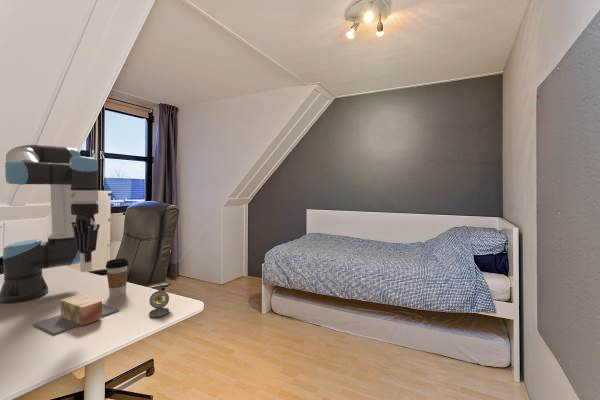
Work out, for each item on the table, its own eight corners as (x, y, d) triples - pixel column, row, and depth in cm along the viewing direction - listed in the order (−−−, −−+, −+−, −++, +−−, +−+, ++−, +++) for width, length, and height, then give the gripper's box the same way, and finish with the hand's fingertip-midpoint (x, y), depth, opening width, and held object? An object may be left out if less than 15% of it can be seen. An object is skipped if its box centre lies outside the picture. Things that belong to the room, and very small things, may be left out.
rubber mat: (33, 325, 95) (33, 323, 95) (98, 303, 113) (98, 302, 113) (53, 335, 88) (53, 333, 88) (119, 310, 106) (119, 309, 106)
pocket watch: (155, 320, 99) (155, 292, 99) (142, 314, 104) (142, 287, 103) (176, 311, 106) (176, 285, 106) (163, 306, 110) (163, 281, 110)
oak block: (82, 325, 94) (61, 316, 100) (102, 317, 99) (80, 310, 105) (82, 307, 93) (60, 299, 100) (101, 301, 99) (80, 294, 105)
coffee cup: (118, 298, 118) (117, 262, 118) (101, 296, 120) (100, 261, 119) (133, 291, 127) (133, 258, 126) (117, 289, 128) (117, 257, 128)
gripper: (61, 202, 96) (63, 270, 97) (82, 204, 90) (84, 277, 91) (86, 201, 102) (88, 265, 104) (107, 203, 97) (108, 270, 98)
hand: (86, 270), depth 97 cm, fingers closed
